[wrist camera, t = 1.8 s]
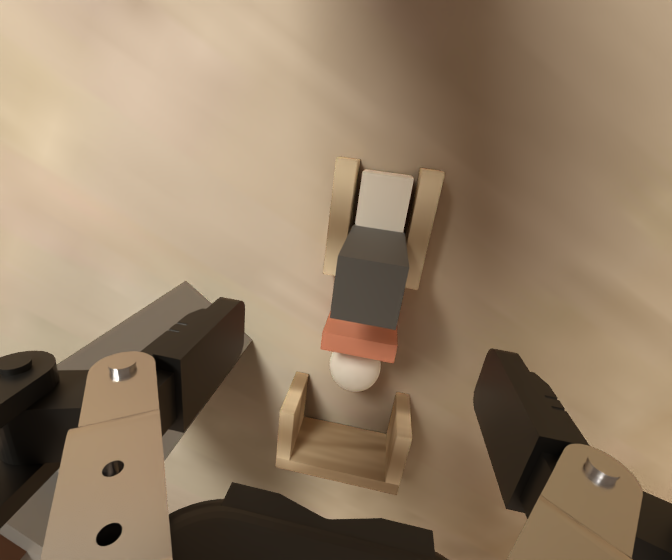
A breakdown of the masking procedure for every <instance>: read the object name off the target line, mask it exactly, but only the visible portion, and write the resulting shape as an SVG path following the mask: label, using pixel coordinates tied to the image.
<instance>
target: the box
mask: <svg viewBox="0 0 672 560" xmlns="http://www.w3.org/2000/svg"><path fill="white" fill-rule="evenodd" d="M308 376H309V374H306V373H301V372H296V374H295V377H294V379H293V381H292V384H291V386H290V388H289V391H288V393H287V395H286V398H285V400H284V402H283V405H282V407H281V409H280V415H279V428H278V441H277V454H276V467H277V468H281V469H286V470H290V471H294V472H299V473H303V474H307V475H312V476H316V477H320V478H325V479H329V480H333V481H338V482H342V483H346V484H351V485H355V486H359V487H364V488H368V489H372V490H377V491H381V492H385V493H390V494H394V495H397V492H398V488H399V485H400V481H401V478H402V474H403V471H404V467H405V463H406V460H407V456H408V453H409V449H410V446H411V442H412V429H411V414H410V399H409V394H405V393H400V392H396V395H395V400H394V404H393V408H392V412H391V416H390V421H389V425H388V429H387V433H386V434H384V433H379V432H375V431H370V430H365V429H361V428H356V427H351V426H347V425H342V424H337V423H333V422H328V421H323V420H319V419H314V418H309V417H305V416H304V412H305V403H306V394H307V385H308Z"/></svg>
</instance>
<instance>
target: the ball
mask: <svg viewBox="0 0 672 560" xmlns="http://www.w3.org/2000/svg"><path fill="white" fill-rule="evenodd" d="M380 370H381V362H380V361H379V360H374V359H368V358H363V357H358V356H353V355H348V354H343V353H338V352H333V353H332V355H331V358H330V372H331V375H332V377H333V379H334V381H335V382H336V383H337V384H338V385H339V386H340V387H341V388H343V389H345V390H348V391H352V392H360V391H364V390H366V389H368V388H370V387H371V386H372V385H373V384H374V383H375V382H376V380H377V379H378V377H379V374H380Z"/></svg>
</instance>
